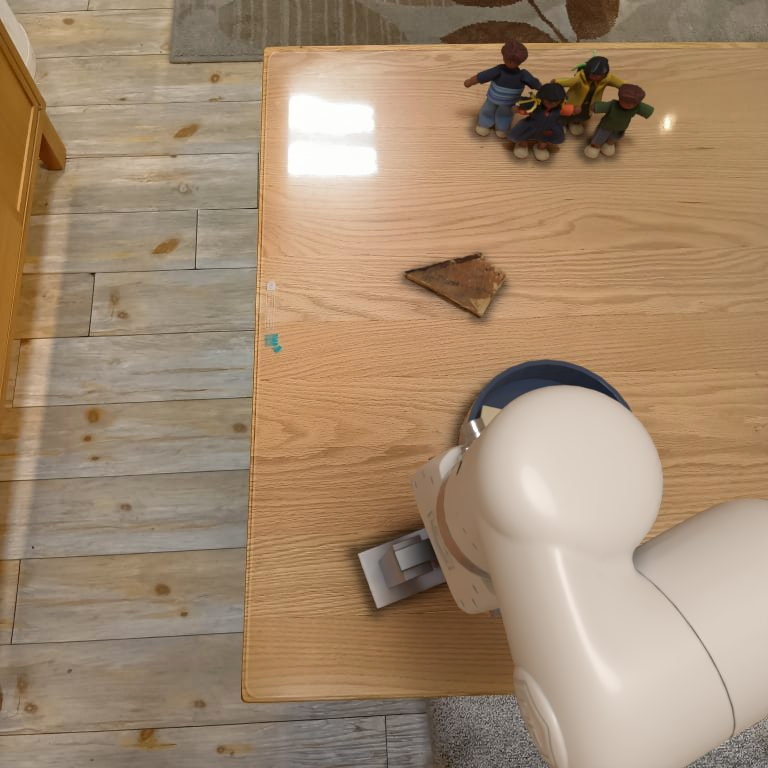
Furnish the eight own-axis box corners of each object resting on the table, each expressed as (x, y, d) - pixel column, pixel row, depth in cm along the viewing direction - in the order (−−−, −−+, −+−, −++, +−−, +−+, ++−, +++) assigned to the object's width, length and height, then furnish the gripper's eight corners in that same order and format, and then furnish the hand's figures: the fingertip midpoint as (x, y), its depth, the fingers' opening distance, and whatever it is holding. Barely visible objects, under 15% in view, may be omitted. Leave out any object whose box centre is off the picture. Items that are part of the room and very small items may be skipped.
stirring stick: (392, 552, 53) (393, 551, 51) (508, 507, 55) (513, 504, 53) (399, 572, 53) (401, 571, 51) (516, 526, 54) (521, 524, 53)
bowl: (652, 504, 77) (675, 497, 72) (498, 566, 74) (510, 563, 69) (578, 354, 82) (594, 337, 77) (432, 406, 79) (438, 392, 74)
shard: (402, 277, 84) (404, 270, 82) (433, 231, 86) (435, 224, 85) (479, 321, 83) (482, 315, 81) (508, 274, 85) (512, 267, 83)
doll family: (465, 170, 90) (486, 98, 77) (452, 114, 92) (471, 35, 80) (631, 155, 92) (678, 82, 79) (614, 100, 95) (657, 21, 82)
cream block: (498, 442, 78) (505, 436, 75) (473, 437, 78) (478, 430, 75) (502, 417, 79) (509, 410, 76) (477, 412, 79) (482, 404, 76)
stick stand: (488, 564, 74) (541, 548, 55) (376, 609, 72) (390, 609, 53) (467, 512, 76) (511, 479, 57) (356, 554, 73) (364, 535, 54)
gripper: (391, 403, 39) (374, 466, 57) (501, 681, 35) (446, 657, 52) (509, 362, 40) (457, 436, 58) (629, 625, 36) (533, 620, 54)
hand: (452, 541), depth 55 cm, fingers closed on stirring stick
